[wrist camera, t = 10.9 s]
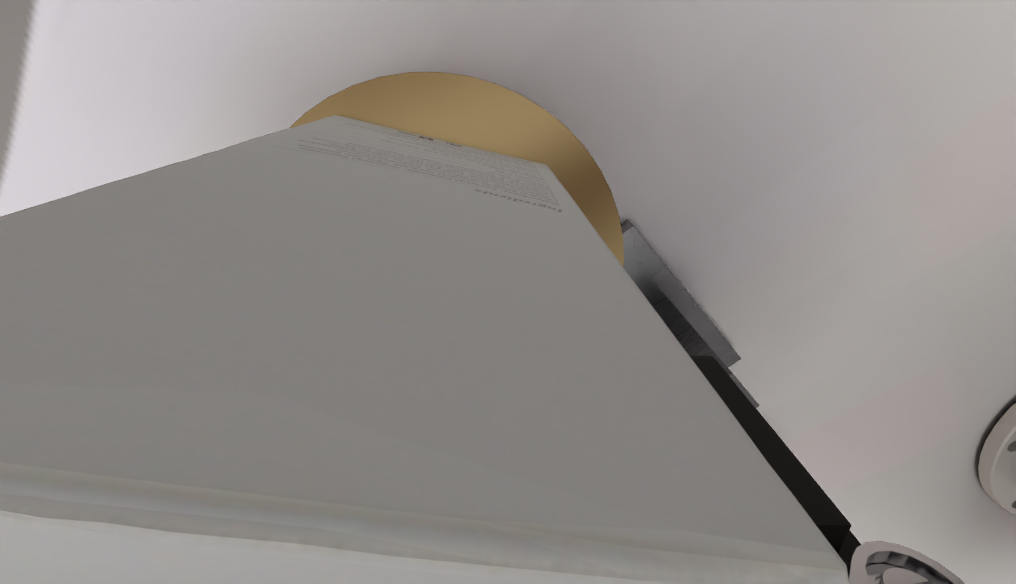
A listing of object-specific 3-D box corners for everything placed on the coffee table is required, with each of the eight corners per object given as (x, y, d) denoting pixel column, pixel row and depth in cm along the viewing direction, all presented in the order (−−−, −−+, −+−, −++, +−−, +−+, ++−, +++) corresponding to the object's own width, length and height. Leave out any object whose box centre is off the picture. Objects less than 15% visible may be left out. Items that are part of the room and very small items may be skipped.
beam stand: (732, 348, 27) (827, 450, 20) (565, 466, 30) (593, 593, 22) (627, 220, 23) (695, 284, 16) (449, 366, 26) (439, 477, 19)
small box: (331, 110, 13) (-855, 384, 1) (552, 161, 14) (922, 586, 2) (311, 357, 16) (-121, 1085, 5) (493, 386, 17) (526, 1057, 6)
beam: (871, 512, 25) (988, 642, 19) (678, 620, 28) (731, 763, 22) (444, -19, 14) (422, -81, 9) (204, 242, 17) (68, 324, 12)
